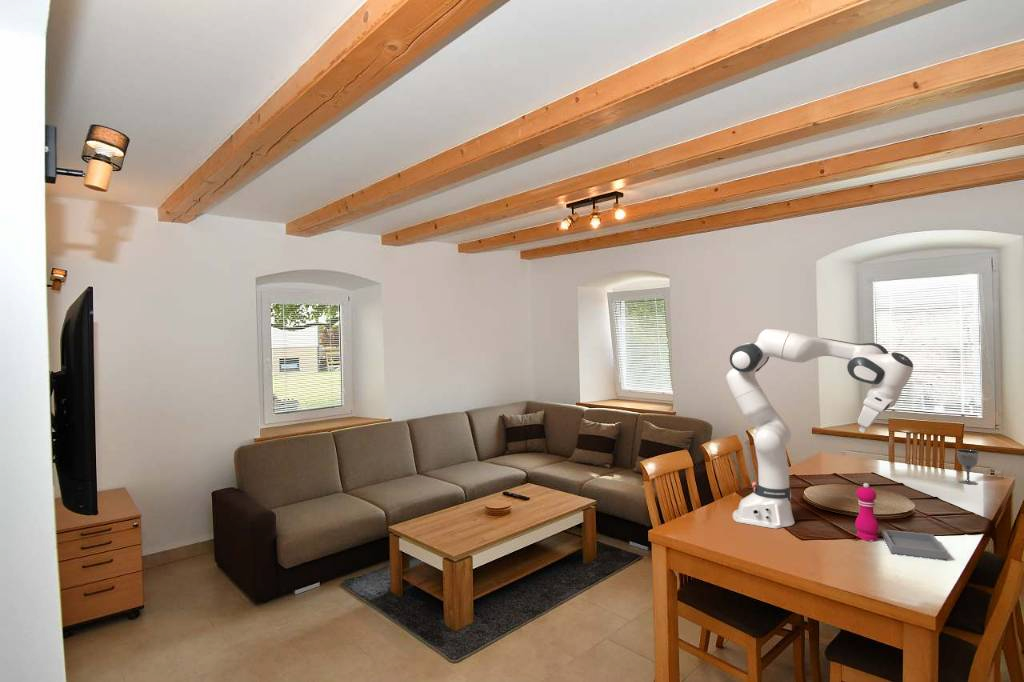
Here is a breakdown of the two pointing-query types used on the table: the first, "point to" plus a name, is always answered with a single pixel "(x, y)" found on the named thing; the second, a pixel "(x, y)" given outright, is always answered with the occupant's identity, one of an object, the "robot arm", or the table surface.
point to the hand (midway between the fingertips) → (866, 426)
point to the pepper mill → (866, 514)
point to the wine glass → (968, 462)
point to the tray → (914, 544)
